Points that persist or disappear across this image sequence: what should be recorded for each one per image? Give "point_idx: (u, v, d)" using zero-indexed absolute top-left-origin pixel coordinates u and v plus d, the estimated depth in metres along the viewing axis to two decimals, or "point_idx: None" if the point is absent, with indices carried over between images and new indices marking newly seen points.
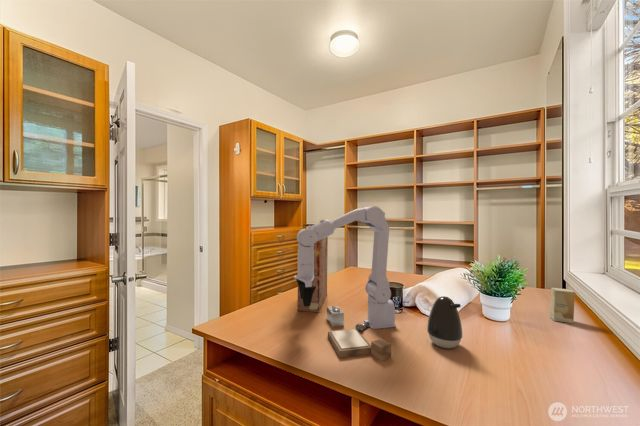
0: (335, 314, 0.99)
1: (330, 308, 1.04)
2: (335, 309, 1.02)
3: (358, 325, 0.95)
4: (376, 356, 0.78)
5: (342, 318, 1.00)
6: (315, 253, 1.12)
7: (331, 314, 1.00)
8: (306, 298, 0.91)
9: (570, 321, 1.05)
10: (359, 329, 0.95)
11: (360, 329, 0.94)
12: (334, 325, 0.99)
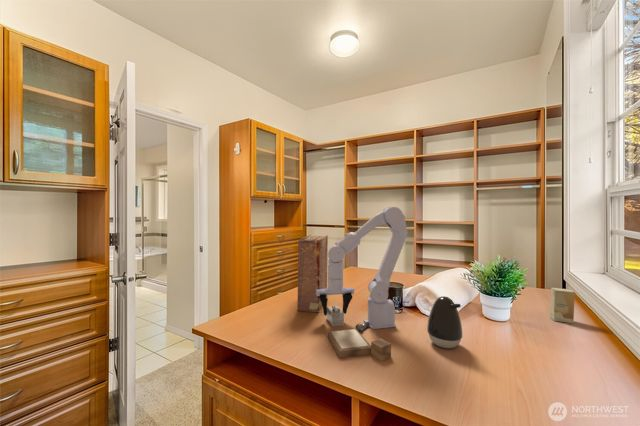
0: (335, 314, 0.99)
1: (330, 308, 1.04)
2: (335, 309, 1.02)
3: (358, 325, 0.95)
4: (376, 356, 0.78)
5: (342, 318, 1.00)
6: (315, 253, 1.12)
7: (331, 314, 1.00)
8: (323, 307, 1.02)
9: (570, 321, 1.05)
10: (359, 329, 0.95)
11: (360, 329, 0.94)
12: (334, 325, 0.99)
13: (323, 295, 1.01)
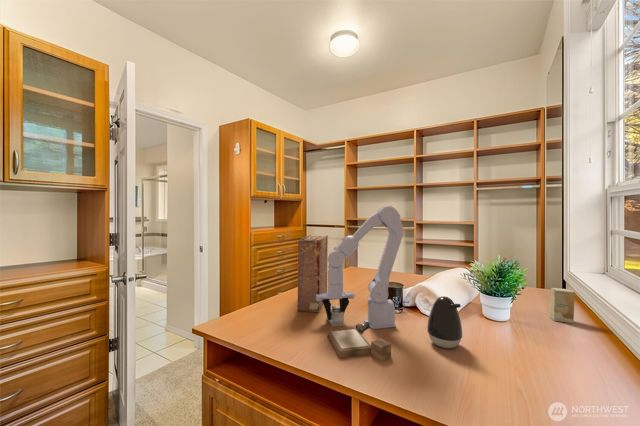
0: (335, 314, 0.99)
1: None
2: (335, 309, 1.02)
3: (358, 325, 0.95)
4: (376, 356, 0.78)
5: (342, 318, 1.00)
6: (315, 253, 1.12)
7: (331, 314, 1.00)
8: (327, 311, 1.02)
9: (570, 321, 1.05)
10: (359, 329, 0.95)
11: (360, 329, 0.94)
12: (334, 324, 0.99)
13: (323, 300, 1.01)
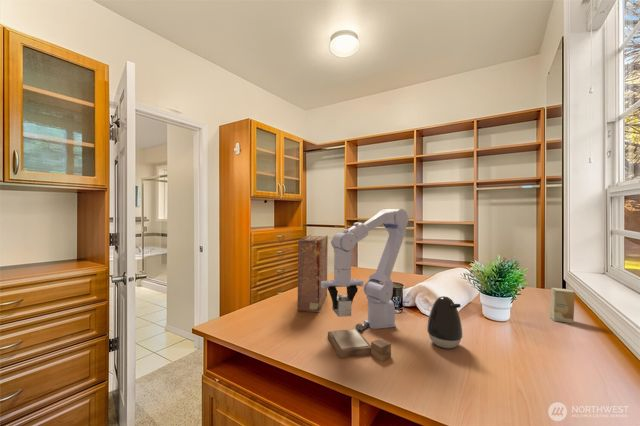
0: (342, 302, 0.90)
1: None
2: (342, 297, 0.92)
3: (358, 325, 0.95)
4: (376, 356, 0.78)
5: (349, 307, 0.90)
6: (315, 253, 1.12)
7: (337, 302, 0.91)
8: (333, 300, 0.93)
9: (570, 321, 1.05)
10: (359, 329, 0.95)
11: (360, 329, 0.95)
12: (341, 314, 0.90)
13: (329, 287, 0.91)
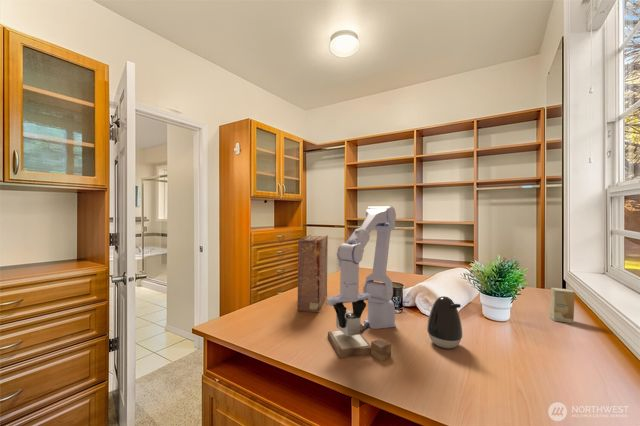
0: (351, 320, 0.82)
1: None
2: (349, 314, 0.84)
3: None
4: (376, 356, 0.78)
5: (358, 324, 0.83)
6: (315, 253, 1.12)
7: (345, 320, 0.83)
8: (340, 318, 0.84)
9: (570, 321, 1.05)
10: None
11: (360, 329, 0.95)
12: (350, 333, 0.82)
13: (336, 304, 0.82)
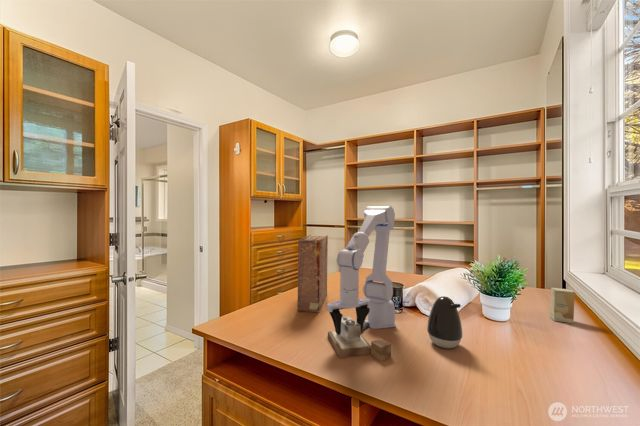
0: (351, 328, 0.82)
1: (342, 320, 0.86)
2: (349, 321, 0.84)
3: None
4: (376, 356, 0.78)
5: (359, 332, 0.83)
6: (315, 253, 1.12)
7: (345, 328, 0.82)
8: (336, 324, 0.84)
9: (570, 321, 1.05)
10: None
11: None
12: (350, 340, 0.82)
13: (336, 310, 0.83)
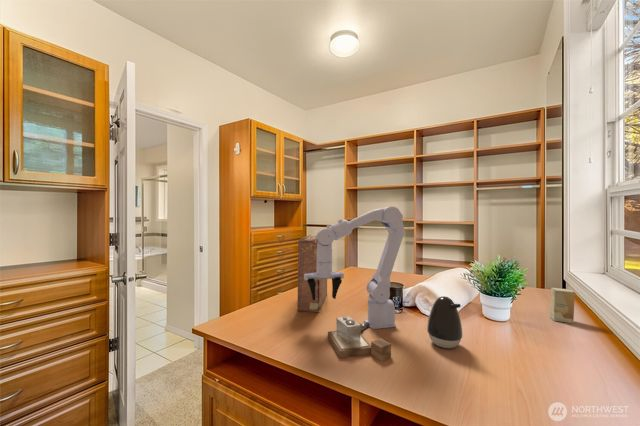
0: (351, 328, 0.82)
1: (342, 320, 0.86)
2: (349, 321, 0.84)
3: None
4: (376, 356, 0.78)
5: (359, 332, 0.83)
6: (315, 253, 1.12)
7: (345, 328, 0.82)
8: (312, 291, 0.99)
9: (570, 321, 1.05)
10: None
11: None
12: (350, 340, 0.82)
13: (311, 279, 0.98)
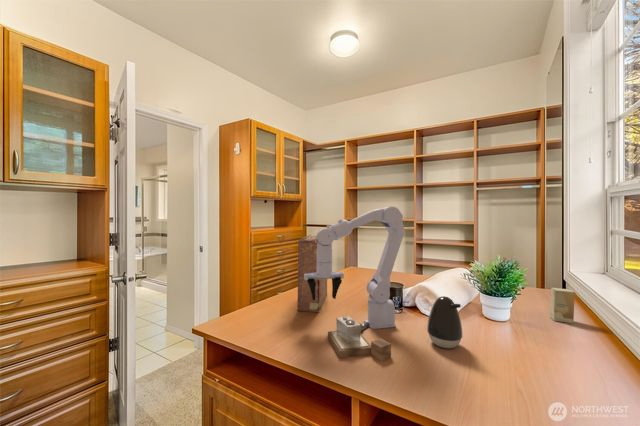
0: (351, 328, 0.82)
1: (342, 320, 0.86)
2: (349, 321, 0.84)
3: None
4: (376, 356, 0.78)
5: (359, 332, 0.83)
6: (315, 253, 1.12)
7: (345, 328, 0.82)
8: (312, 291, 0.99)
9: (570, 321, 1.05)
10: None
11: None
12: (350, 340, 0.82)
13: (311, 279, 0.98)
